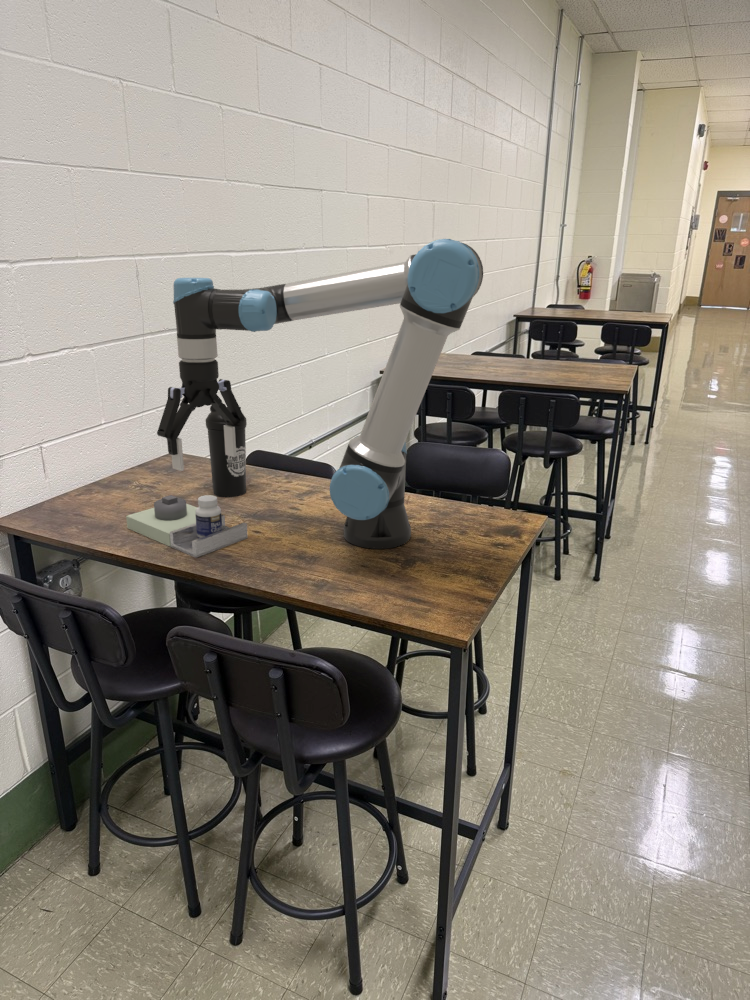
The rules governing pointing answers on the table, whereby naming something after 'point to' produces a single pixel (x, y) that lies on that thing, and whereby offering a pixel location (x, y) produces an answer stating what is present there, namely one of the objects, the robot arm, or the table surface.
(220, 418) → the water bottle
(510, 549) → the table surface
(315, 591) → the table surface
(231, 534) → the grey metal channel
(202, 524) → the pill bottle
